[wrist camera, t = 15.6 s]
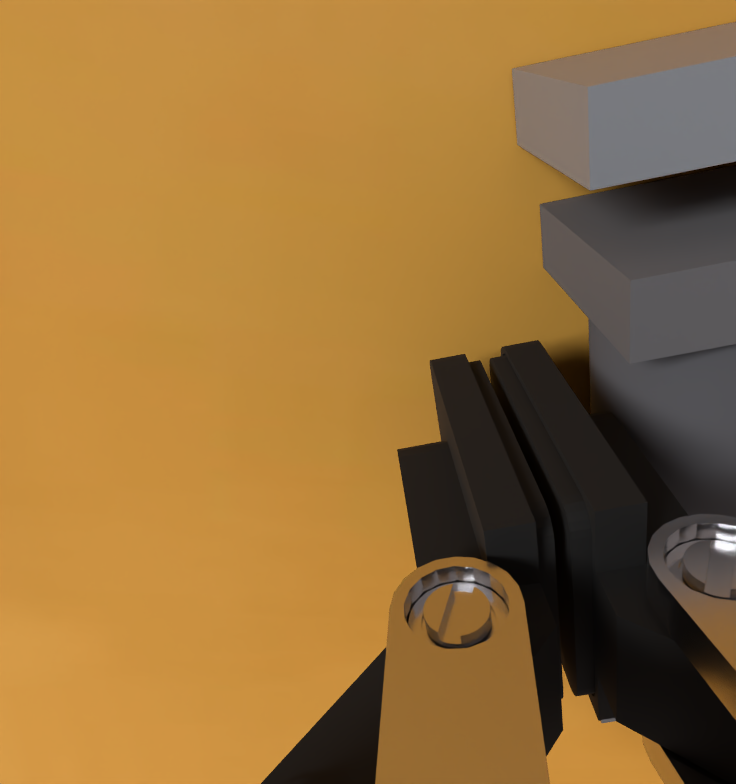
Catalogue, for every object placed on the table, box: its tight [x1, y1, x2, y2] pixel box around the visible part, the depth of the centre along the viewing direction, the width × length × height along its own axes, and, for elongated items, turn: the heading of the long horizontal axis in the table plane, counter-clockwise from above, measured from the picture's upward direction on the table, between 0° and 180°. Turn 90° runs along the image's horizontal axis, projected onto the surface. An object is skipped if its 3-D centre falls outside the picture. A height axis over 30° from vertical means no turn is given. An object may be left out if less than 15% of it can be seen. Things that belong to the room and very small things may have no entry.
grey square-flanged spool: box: [540, 165, 736, 518], centre depth 10 cm, size 6×3×3 cm, turn 11°
